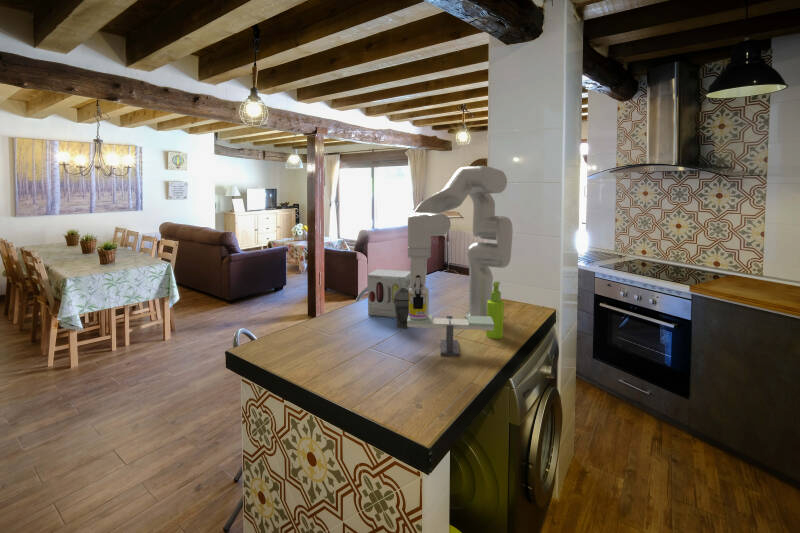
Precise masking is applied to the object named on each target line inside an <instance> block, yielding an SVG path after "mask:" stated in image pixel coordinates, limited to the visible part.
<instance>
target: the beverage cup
mask: <svg viewBox="0 0 800 533" xmlns="http://www.w3.org/2000/svg"><path fill="white" fill-rule="evenodd" d="M399 282H400V289H398V290H397V291H396V292H395V294H394V304H395V311H396V317H395V319H396V326H397V328H398V329H402V330H403V329H408V328H409V327H407V319H408V315H409V290H408V289H406V288H402V287H401V280H400V277H399Z"/></svg>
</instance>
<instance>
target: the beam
mask: <svg viewBox="0 0 800 533" xmlns="http://www.w3.org/2000/svg"><path fill="white" fill-rule="evenodd" d="M447 324H453V330H474V331H475V330H477V331H486V330H493V328H494V322H493V320H492V318H491V317H490V316H467V318H452V319H451V318H448V319H447V317H441V318H440V317H433V314H432V313H429V316H428V318H426V319H423V320H416V319H411V318H410V317H409V315H408V319H407V327H408V328H426V329H429V328H430V329H446V328H447Z"/></svg>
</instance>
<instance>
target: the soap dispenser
mask: <svg viewBox="0 0 800 533" xmlns="http://www.w3.org/2000/svg"><path fill="white" fill-rule="evenodd" d="M500 284H501V281H493V285H492V287H493V290H492V292H491V300H488V301H487V316H490V317H491V318H492V320H493V322H494V328H493V330H485V331H486V337H487V338H489V339H493V340H494V339H495V340H499V338H500V339H503V337H504V336H503V335H504V311H505V301H503V300H501V298H502V292H501V291H499V286H500Z"/></svg>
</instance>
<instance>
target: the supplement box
mask: <svg viewBox="0 0 800 533" xmlns="http://www.w3.org/2000/svg"><path fill="white" fill-rule="evenodd" d="M399 277H400V280H401V287H402V288H406V289H408V290H409V289H410V270H396V269H381V268H380V269H379V268H377V269H376V270H373V271H372V272H370V273H368V274H367V312H368V313H367V316H377V317H378V316H379V317H387V318H388V317H389V318H396V311H395V304H394V294H395V292H396V291H397V290H398V289H400V282H399Z"/></svg>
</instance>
